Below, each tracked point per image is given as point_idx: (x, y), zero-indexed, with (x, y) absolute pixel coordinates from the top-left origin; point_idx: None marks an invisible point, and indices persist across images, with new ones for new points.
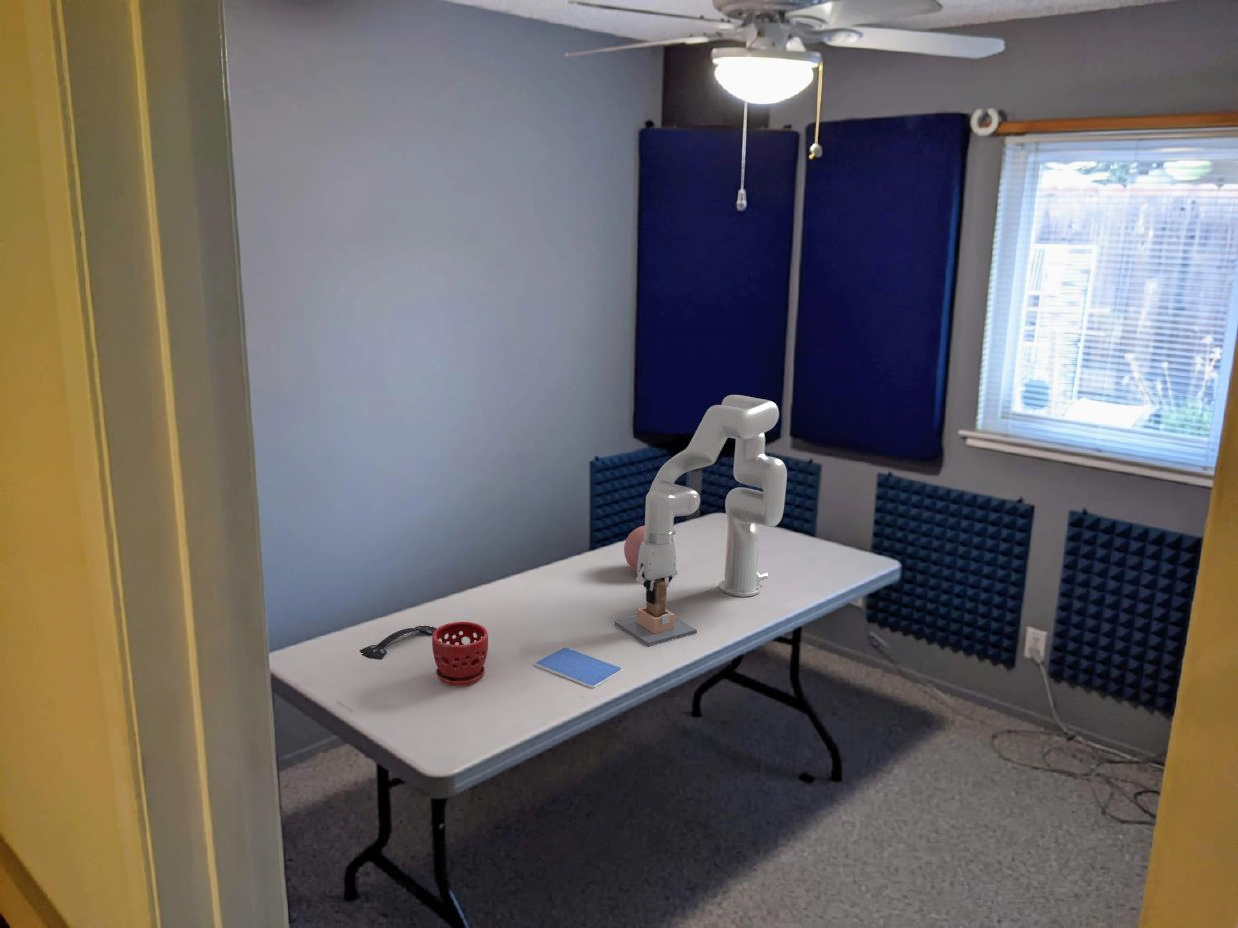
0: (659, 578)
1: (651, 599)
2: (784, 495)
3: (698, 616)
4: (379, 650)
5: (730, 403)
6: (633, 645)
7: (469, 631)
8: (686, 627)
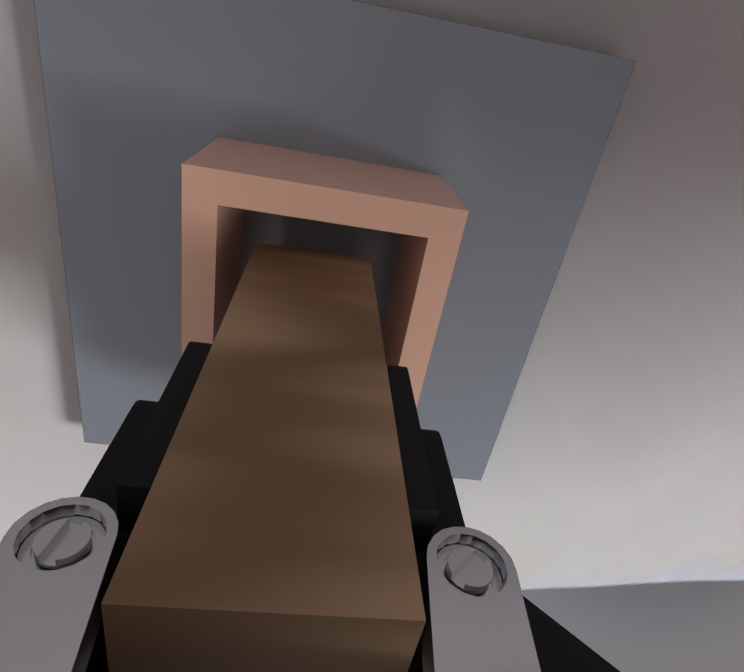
0: (432, 665)
1: None
2: None
3: (718, 316)
4: None
5: None
6: (5, 363)
7: None
8: (460, 429)
